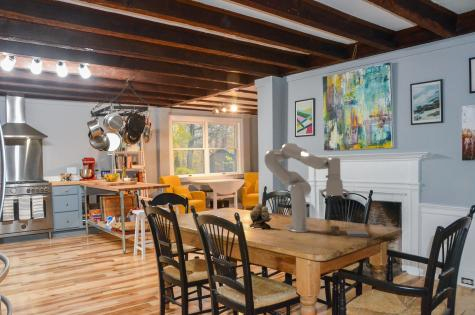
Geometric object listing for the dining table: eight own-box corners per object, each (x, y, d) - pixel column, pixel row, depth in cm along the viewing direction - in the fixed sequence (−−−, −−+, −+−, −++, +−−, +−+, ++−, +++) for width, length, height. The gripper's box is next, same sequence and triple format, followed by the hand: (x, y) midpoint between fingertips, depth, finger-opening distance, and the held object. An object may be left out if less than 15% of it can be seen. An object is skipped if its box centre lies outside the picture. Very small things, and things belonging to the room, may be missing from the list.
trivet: (348, 236, 224) (348, 233, 224) (345, 232, 235) (345, 230, 235) (369, 237, 221) (368, 234, 222) (365, 233, 233) (365, 230, 233)
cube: (331, 235, 230) (331, 226, 230) (330, 233, 235) (330, 225, 235) (339, 235, 229) (339, 227, 229) (338, 233, 234) (338, 225, 234)
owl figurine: (275, 227, 259) (275, 203, 259) (265, 230, 250) (265, 205, 250) (255, 225, 271) (255, 201, 271) (245, 227, 262) (244, 203, 262)
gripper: (320, 177, 230) (320, 205, 230) (349, 177, 227) (349, 205, 227) (319, 177, 237) (320, 204, 237) (347, 177, 234) (348, 204, 234)
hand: (334, 204), depth 232 cm, fingers open, 9 cm apart
